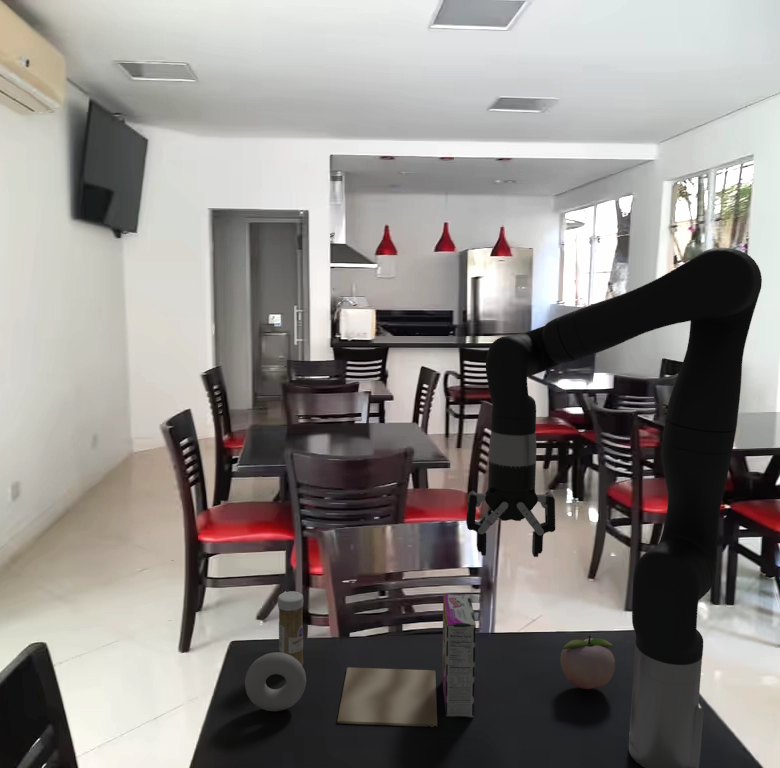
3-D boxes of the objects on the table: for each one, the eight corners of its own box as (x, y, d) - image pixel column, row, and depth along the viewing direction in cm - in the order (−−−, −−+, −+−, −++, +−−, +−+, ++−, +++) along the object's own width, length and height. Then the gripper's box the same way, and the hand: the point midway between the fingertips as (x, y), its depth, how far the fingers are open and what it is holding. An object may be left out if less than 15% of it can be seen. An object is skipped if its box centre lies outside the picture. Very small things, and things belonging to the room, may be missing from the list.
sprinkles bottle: (301, 671, 130) (300, 601, 128) (276, 670, 131) (275, 600, 129) (305, 658, 135) (305, 590, 133) (281, 657, 135) (280, 589, 133)
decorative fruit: (577, 708, 120) (581, 652, 119) (551, 682, 128) (554, 629, 127) (625, 698, 123) (628, 643, 122) (596, 673, 131) (599, 621, 130)
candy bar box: (440, 680, 128) (442, 593, 126) (468, 681, 128) (471, 593, 126) (443, 718, 117) (446, 623, 115) (474, 719, 117) (477, 624, 115)
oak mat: (435, 672, 131) (435, 670, 131) (437, 726, 115) (437, 724, 115) (347, 669, 131) (347, 667, 131) (337, 723, 116) (337, 720, 115)
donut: (244, 718, 117) (243, 660, 115) (245, 705, 120) (244, 649, 119) (306, 714, 118) (306, 657, 116) (306, 701, 121) (306, 646, 120)
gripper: (469, 463, 113) (467, 562, 115) (561, 465, 112) (557, 564, 115) (466, 452, 120) (464, 545, 123) (552, 453, 120) (548, 547, 122)
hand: (509, 554), depth 119 cm, fingers open, 8 cm apart
